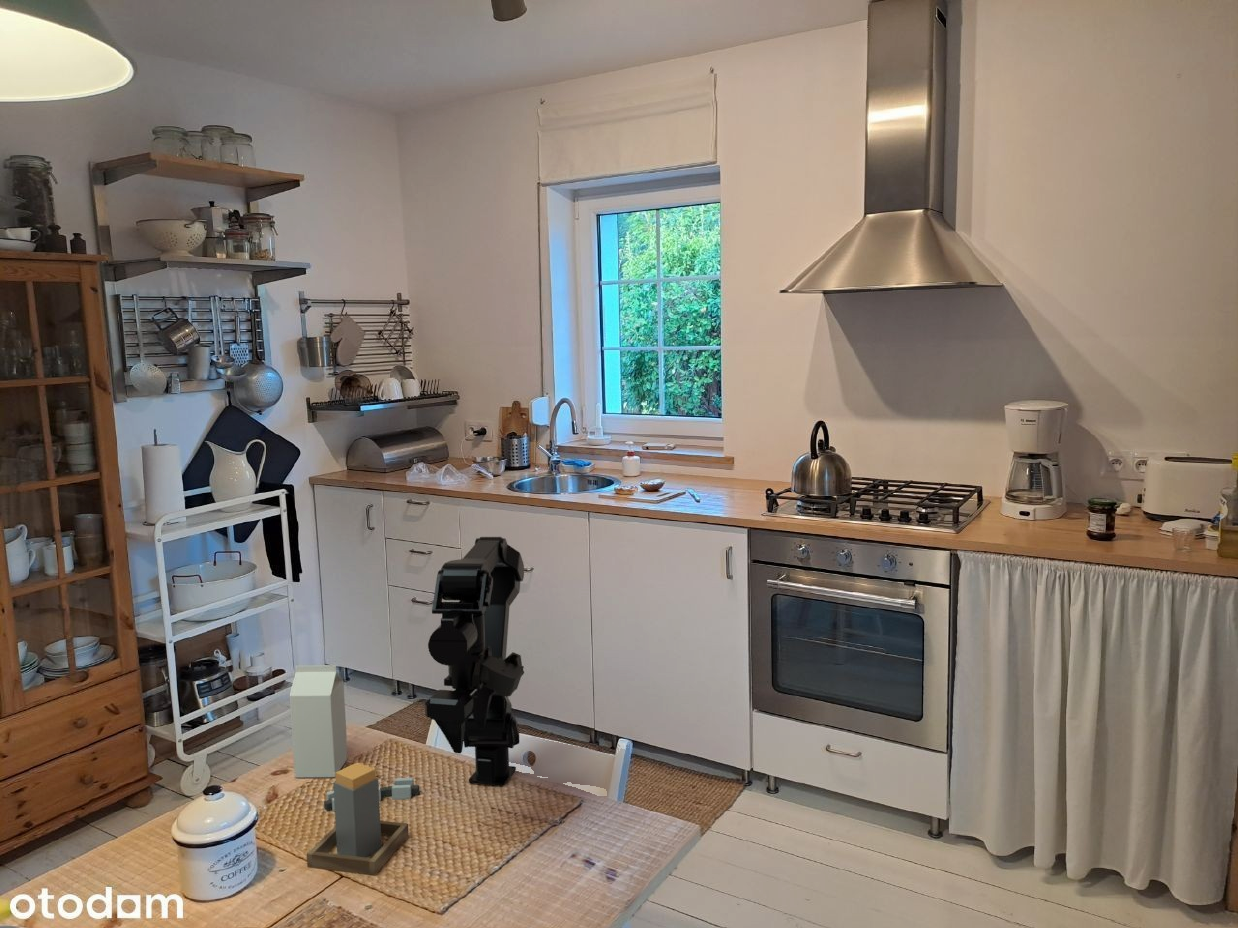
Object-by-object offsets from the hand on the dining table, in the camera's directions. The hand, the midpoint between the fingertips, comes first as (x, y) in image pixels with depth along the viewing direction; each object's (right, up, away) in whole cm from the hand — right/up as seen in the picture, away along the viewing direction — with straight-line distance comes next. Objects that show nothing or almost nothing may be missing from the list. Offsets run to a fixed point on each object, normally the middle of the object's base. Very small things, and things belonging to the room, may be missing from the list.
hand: (469, 739), depth 140 cm
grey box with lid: (-15, -14, -7) cm, 22 cm away
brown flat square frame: (-15, -14, -7) cm, 22 cm away
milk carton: (-30, -11, +20) cm, 37 cm away
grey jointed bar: (-17, -12, +8) cm, 23 cm away
